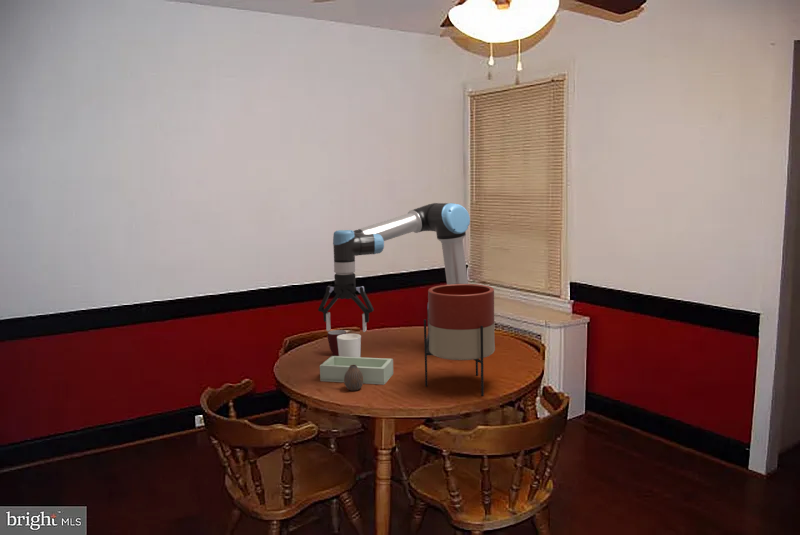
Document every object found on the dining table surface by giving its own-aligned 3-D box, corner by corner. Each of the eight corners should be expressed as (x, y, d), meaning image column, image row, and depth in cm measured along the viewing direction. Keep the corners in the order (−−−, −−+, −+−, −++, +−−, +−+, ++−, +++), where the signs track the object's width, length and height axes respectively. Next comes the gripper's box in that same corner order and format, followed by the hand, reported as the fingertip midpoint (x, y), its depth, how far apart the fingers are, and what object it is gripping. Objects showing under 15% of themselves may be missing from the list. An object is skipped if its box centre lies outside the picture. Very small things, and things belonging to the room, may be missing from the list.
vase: (344, 386, 231) (343, 363, 230) (363, 385, 232) (362, 362, 231) (344, 392, 225) (343, 368, 223) (363, 391, 225) (363, 367, 224)
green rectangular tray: (393, 373, 245) (392, 358, 244) (384, 384, 232) (383, 368, 231) (332, 370, 251) (331, 356, 250) (320, 381, 238) (319, 365, 237)
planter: (425, 376, 241) (423, 284, 236) (491, 374, 240) (490, 283, 235) (425, 397, 217) (423, 296, 212) (498, 396, 217) (498, 294, 212)
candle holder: (365, 362, 261) (364, 334, 259) (356, 369, 252) (355, 340, 250) (344, 360, 264) (342, 332, 262) (334, 367, 255) (332, 338, 253)
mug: (353, 351, 277) (352, 329, 276) (352, 357, 269) (351, 334, 268) (329, 352, 277) (328, 330, 276) (327, 357, 270) (326, 334, 268)
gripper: (380, 271, 229) (382, 329, 232) (314, 271, 234) (316, 327, 237) (376, 274, 222) (377, 333, 225) (308, 274, 226) (310, 332, 229)
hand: (346, 330), depth 231 cm, fingers open, 13 cm apart
